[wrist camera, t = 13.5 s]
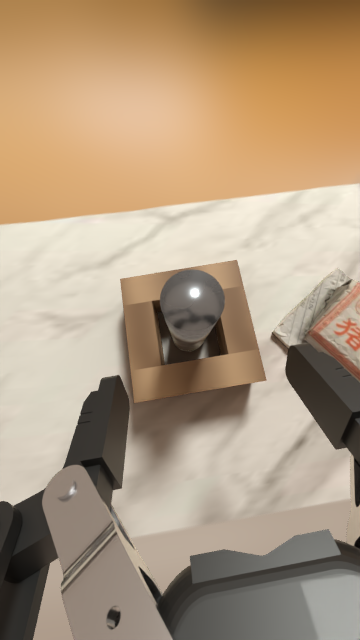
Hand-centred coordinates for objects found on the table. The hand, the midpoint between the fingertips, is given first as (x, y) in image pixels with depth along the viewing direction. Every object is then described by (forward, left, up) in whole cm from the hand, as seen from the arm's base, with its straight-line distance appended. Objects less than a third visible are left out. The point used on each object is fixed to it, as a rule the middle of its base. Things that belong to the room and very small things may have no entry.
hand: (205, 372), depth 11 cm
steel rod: (0, +4, -12) cm, 13 cm away
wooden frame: (0, +4, -12) cm, 13 cm away
